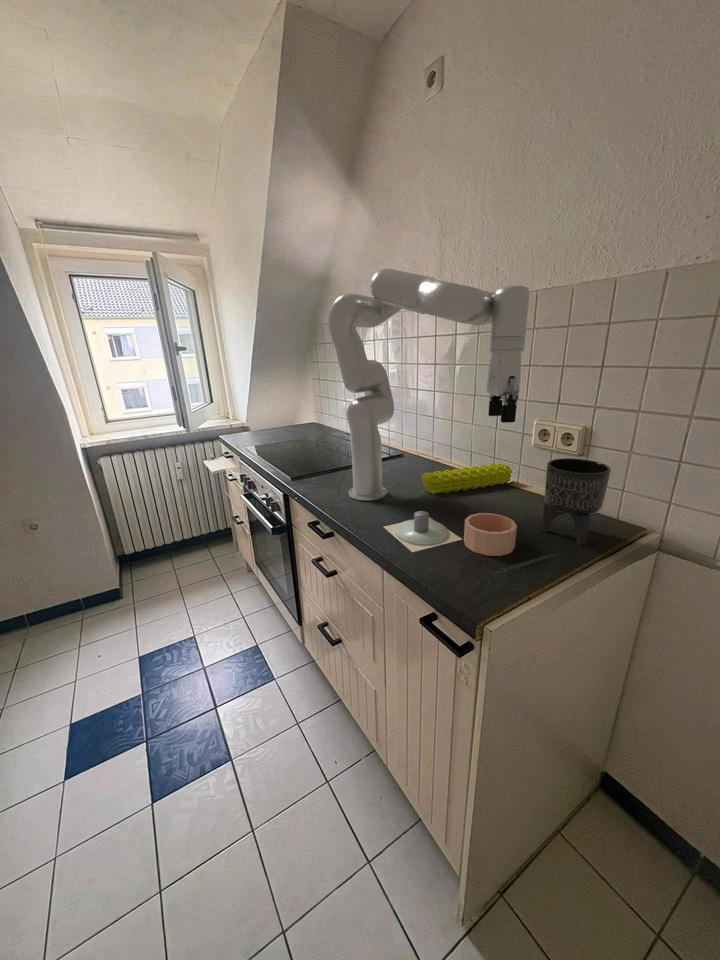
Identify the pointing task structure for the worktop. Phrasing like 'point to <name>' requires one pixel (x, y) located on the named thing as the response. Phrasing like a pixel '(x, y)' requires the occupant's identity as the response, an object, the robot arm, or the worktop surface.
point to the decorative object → (466, 478)
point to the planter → (574, 492)
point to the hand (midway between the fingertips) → (500, 418)
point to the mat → (413, 548)
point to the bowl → (490, 534)
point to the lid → (421, 530)
